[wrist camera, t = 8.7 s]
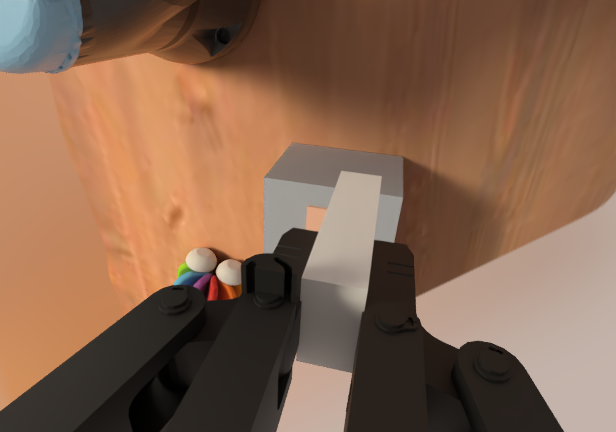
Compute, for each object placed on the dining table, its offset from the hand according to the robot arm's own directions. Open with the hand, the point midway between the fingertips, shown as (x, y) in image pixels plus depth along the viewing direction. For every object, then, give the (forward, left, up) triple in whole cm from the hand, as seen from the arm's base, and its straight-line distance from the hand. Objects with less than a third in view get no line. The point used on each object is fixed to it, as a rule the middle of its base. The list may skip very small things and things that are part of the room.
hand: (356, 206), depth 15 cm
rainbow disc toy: (-19, -27, -27) cm, 43 cm away
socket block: (-3, -15, -26) cm, 31 cm away
